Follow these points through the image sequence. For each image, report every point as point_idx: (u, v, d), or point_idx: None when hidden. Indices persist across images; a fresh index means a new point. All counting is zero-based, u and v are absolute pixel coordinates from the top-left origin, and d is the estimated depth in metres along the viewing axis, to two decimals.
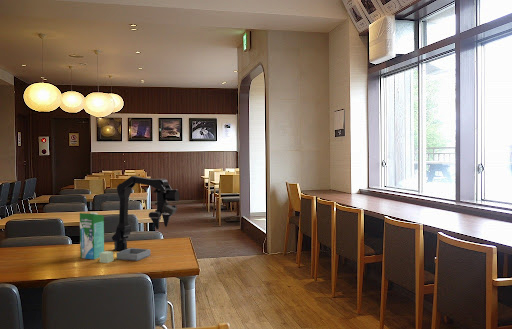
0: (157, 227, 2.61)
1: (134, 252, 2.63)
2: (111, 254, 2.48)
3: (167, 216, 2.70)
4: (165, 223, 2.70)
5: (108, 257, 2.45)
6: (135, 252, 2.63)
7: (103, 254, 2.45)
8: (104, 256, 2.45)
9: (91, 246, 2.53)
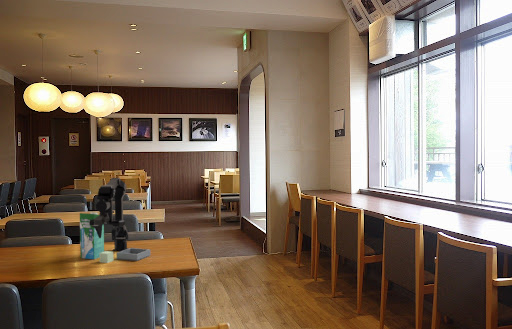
0: None
1: (134, 252, 2.63)
2: (111, 254, 2.48)
3: None
4: None
5: (108, 257, 2.45)
6: (135, 252, 2.63)
7: (103, 254, 2.45)
8: (104, 256, 2.45)
9: (91, 246, 2.53)
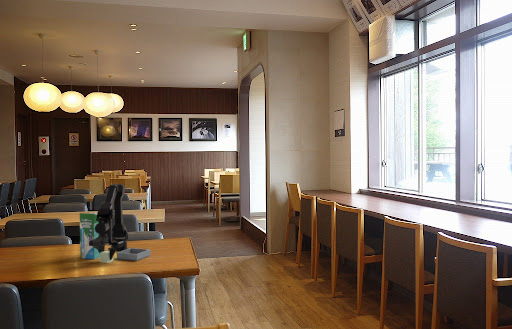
0: None
1: (134, 252, 2.63)
2: None
3: None
4: None
5: (108, 257, 2.45)
6: (135, 252, 2.63)
7: (103, 254, 2.45)
8: (104, 255, 2.45)
9: (91, 246, 2.53)
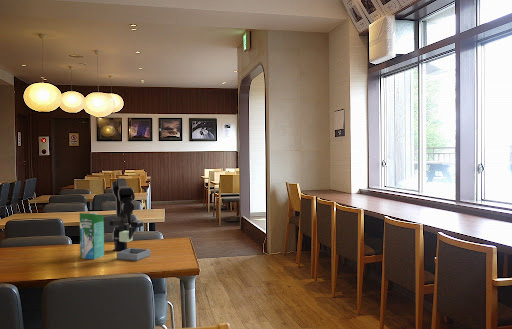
0: None
1: (134, 252, 2.63)
2: None
3: None
4: None
5: (127, 236, 2.51)
6: (135, 252, 2.63)
7: (123, 233, 2.51)
8: (124, 235, 2.51)
9: (91, 246, 2.53)
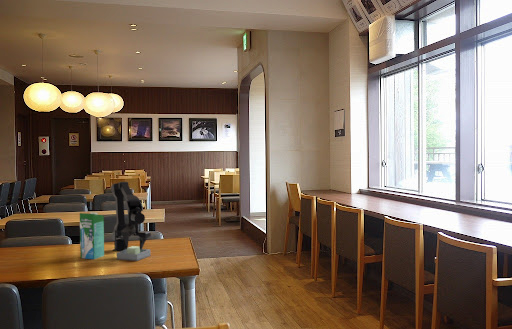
0: None
1: None
2: (138, 249, 2.56)
3: None
4: None
5: (135, 252, 2.54)
6: None
7: (130, 249, 2.54)
8: (132, 250, 2.54)
9: (91, 246, 2.53)
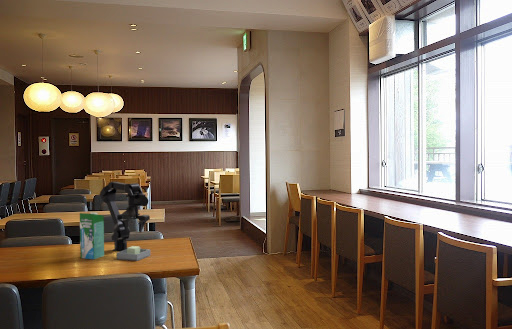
0: None
1: None
2: (138, 249, 2.56)
3: None
4: None
5: (135, 252, 2.54)
6: None
7: (130, 249, 2.54)
8: (132, 250, 2.54)
9: (91, 246, 2.53)
